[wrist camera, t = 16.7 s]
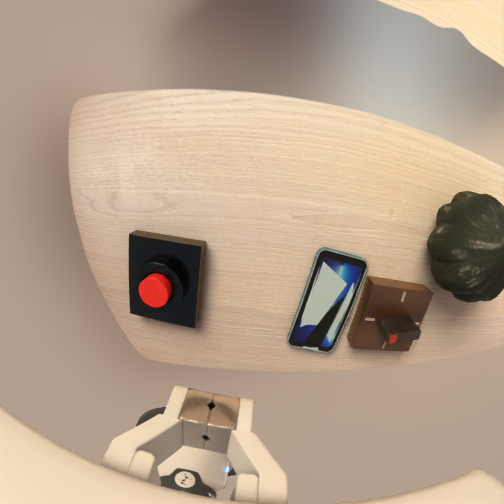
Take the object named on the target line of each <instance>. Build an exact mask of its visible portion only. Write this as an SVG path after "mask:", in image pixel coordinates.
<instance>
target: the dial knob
mask: <svg viewBox="0 0 504 504" xmlns="http://www.w3.org/2000/svg"><path fill="white" fill-rule="evenodd" d="M378 329H379V331H380V333H381V334H382V336H383V338H384V340H385V341H386V343H395V342H401V341H409V340H417V339H419V336H420V333H421V330H420V329H419V327H418V326H417V325H416V323H415V322H414V321H413V320H412V318H411V317H410V316H406V317H396V318H384V319H379V322H378Z"/></svg>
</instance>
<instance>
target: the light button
mask: <svg viewBox="0 0 504 504" xmlns="http://www.w3.org/2000/svg"><path fill="white" fill-rule="evenodd" d="M139 294H140V297H141V299H142V300H143V301H144V302H145V303H146V304H147V305H149V306H151V307H161V306H163V305H165V304H166V302H167V301H168V299H169V298H170V297H171V295H172V286H171V283H170V281H169V280H168V279H167V278H166V277H165V276H163V275H162V274H158V273H152V274H150V275H148V276H147V277H146V278H145V279H144V280H143V281H142V282H141V283H140V285H139Z"/></svg>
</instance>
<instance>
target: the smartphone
mask: <svg viewBox="0 0 504 504" xmlns="http://www.w3.org/2000/svg"><path fill="white" fill-rule="evenodd" d="M367 269H368V263H367V261H366V260H365V259H364V258H362V257H358V256H355V255H351V254H348V253H344V252H340V251H337V250H333V249H330V248H326V247H323V248H320V249H319V250H318V251H317V253H316V256H315V259H314V262H313V265H312V268H311V271H310V274H309V277H308V280H307V283H306V286H305V289H304V292H303V295H302V297H301V300H300V303H299V306H298V309H297V312H296V314H295V317H294V320H293V322H292V325H291V328H290V331H289V333H288V336H287V343H288V345H290V346H292V347H297V348H302V349H307V350H312V351H318V352H323V353H329V352H331V351H332V350H333V349H334V347H335V345H336V343H337V341H338V339H339V337H340V334H341V332H342V330H343V328H344V326H345V323H346V321H347V319H348V316H349V314H350V312H351V309H352V307H353V305H354V302H355V300H356V297H357V295H358V292H359V290H360V287H361V285H362V282H363V280H364V277H365V274H366V272H367Z"/></svg>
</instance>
